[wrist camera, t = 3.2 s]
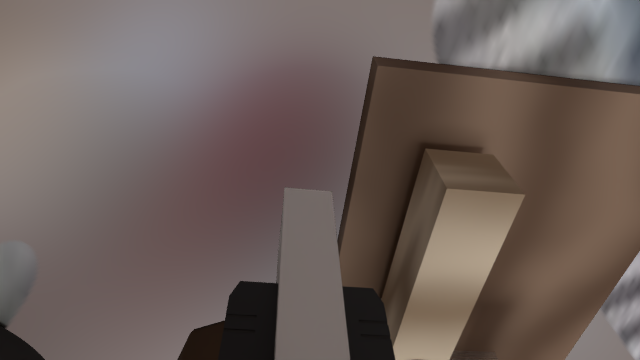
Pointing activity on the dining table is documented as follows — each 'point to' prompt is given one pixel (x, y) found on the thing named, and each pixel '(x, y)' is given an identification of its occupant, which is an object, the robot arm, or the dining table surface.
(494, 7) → the dining table surface
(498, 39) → the dining table surface
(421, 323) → the link
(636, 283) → the dining table surface
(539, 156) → the base plate
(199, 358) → the beer bottle
